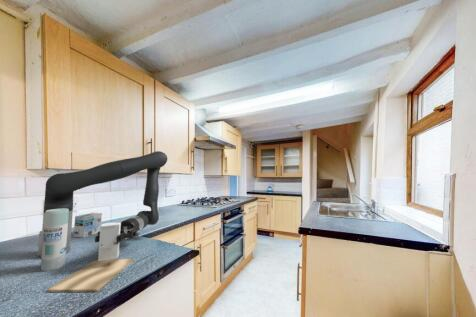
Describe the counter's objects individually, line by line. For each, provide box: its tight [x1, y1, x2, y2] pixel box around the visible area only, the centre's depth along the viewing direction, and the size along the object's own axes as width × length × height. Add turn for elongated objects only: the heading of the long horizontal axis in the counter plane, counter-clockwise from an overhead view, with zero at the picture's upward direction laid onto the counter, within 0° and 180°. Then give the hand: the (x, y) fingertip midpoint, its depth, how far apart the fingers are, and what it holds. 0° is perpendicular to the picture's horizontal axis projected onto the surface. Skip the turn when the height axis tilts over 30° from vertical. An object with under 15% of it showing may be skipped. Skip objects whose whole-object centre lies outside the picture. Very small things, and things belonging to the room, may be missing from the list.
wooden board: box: [46, 258, 135, 293], centre depth 66 cm, size 14×20×1 cm
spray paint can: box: [40, 208, 69, 272], centre depth 71 cm, size 6×6×20 cm
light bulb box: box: [73, 212, 103, 238], centre depth 108 cm, size 11×7×11 cm, turn 168°
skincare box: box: [97, 221, 122, 261], centre depth 72 cm, size 6×4×12 cm
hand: (106, 239), depth 70 cm, fingers closed on skincare box, 7 cm apart
